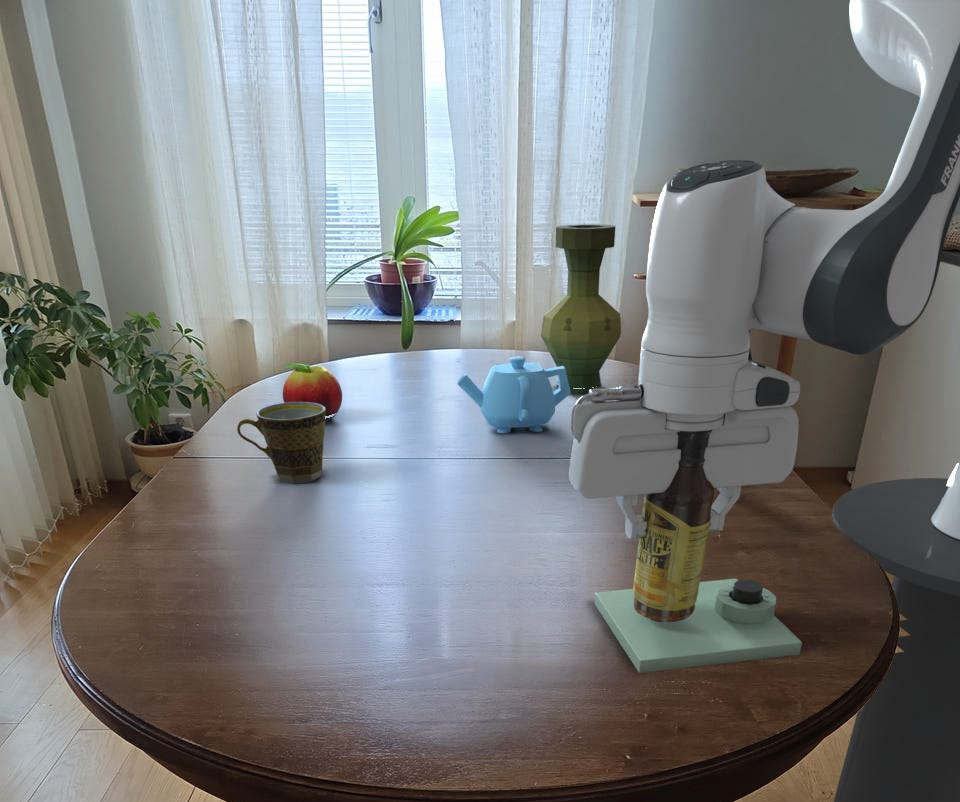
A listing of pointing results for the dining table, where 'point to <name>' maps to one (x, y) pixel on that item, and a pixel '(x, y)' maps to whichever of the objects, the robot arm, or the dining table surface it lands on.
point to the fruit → (313, 387)
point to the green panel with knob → (699, 630)
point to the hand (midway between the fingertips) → (674, 532)
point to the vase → (582, 308)
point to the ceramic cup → (292, 439)
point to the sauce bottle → (675, 537)
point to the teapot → (518, 394)
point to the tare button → (747, 592)
